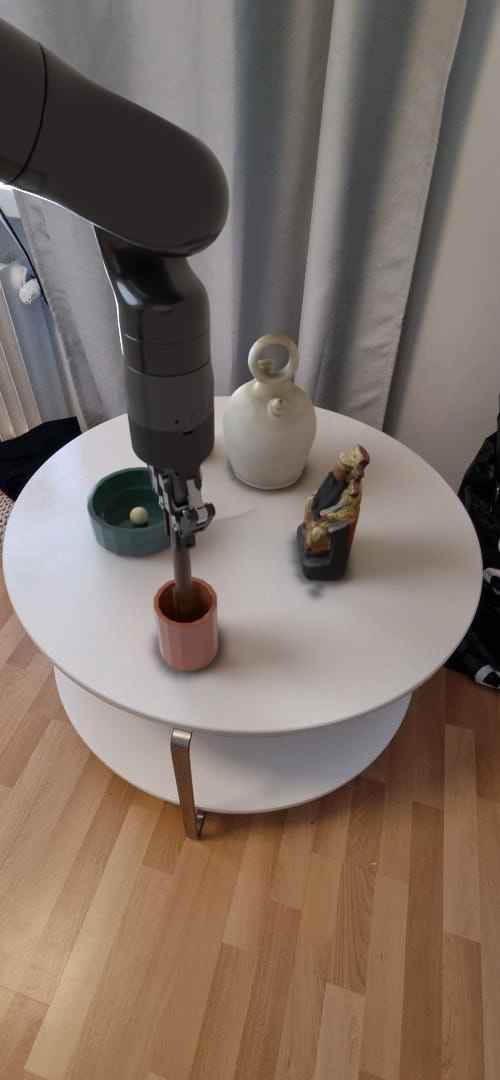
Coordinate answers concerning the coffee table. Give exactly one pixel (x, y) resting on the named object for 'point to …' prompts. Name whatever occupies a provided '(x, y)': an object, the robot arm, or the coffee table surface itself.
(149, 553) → the bowl
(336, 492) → the statue
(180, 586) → the stick
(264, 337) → the jug
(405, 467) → the coffee table surface
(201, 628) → the crock
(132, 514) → the dough ball
